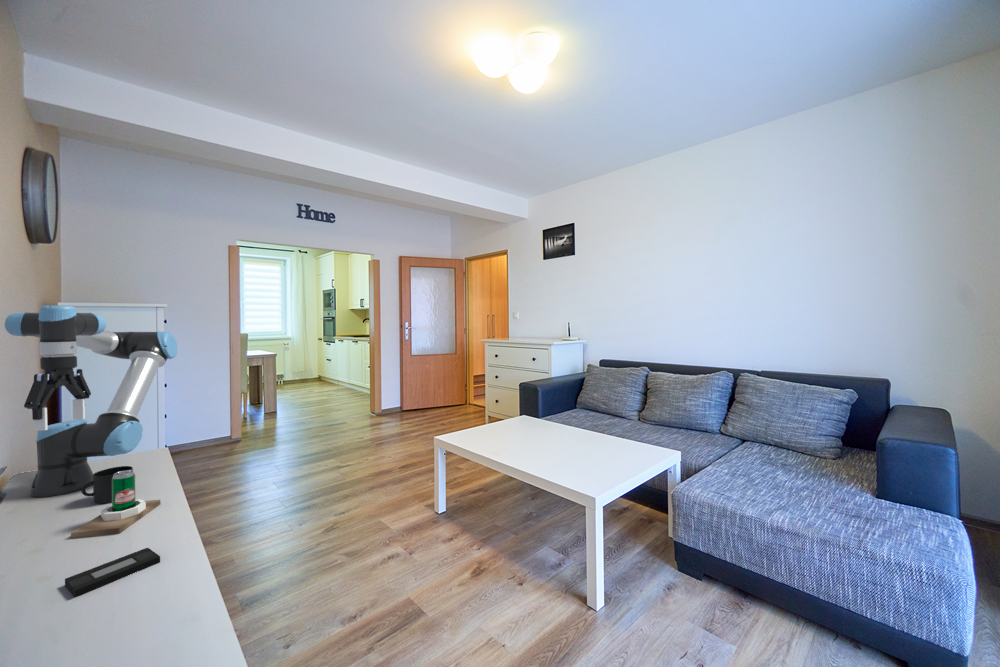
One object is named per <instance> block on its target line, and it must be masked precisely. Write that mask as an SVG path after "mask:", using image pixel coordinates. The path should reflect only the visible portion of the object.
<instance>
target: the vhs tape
mask: <svg viewBox="0 0 1000 667" xmlns="http://www.w3.org/2000/svg"><path fill="white" fill-rule="evenodd" d="M160 563H161V556H160V555H159V554H158V553H156V552H155V551H153V550H152V549H151V548H149V547H145V548H143V549H139V550H137V551H135V552H132V553H130V554H129V553H128V554H126V555H125V556H124V555H123V556H121V557H119V558H116V559H114V560H111V561H109V562H105V563H103V564H100V565H97V566H95V567H92V568H90V569H87V570H84V571H82V572H80V573H77V574H74V575H72V576H69V577H66V578H64V587H65V588H66V589H67V590H68V591H69V593H70V594H71V595H72V596H73V597H74V598H75V597H76V598H78V597H80V596H83V595H85V594H87V593H90V592H92V591H95V590H98V589H99V588H102V587H105V586H107V585H110V584H111V583H114V582H116V581H119V580H121V579H123V578H124V579H125V578H127V577H129V576H131V575H133V573H134V574H135V572H136V573H138V572H141V571H143V570H145V569H147V568H150V567H152V566H156V565H158V564H160ZM137 571H138V572H137ZM130 574H131V575H130ZM128 575H129V576H128Z"/></svg>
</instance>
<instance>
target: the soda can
mask: <svg viewBox="0 0 1000 667" xmlns="http://www.w3.org/2000/svg"><path fill="white" fill-rule="evenodd" d="M135 500H136V473H135V472H134V469H133V470H125V471H120V472H117V473H115V474H113V477H112V503H111V505H112V512H118V511H124V510H127V509H130V508H134V507H136V502H135Z"/></svg>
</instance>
